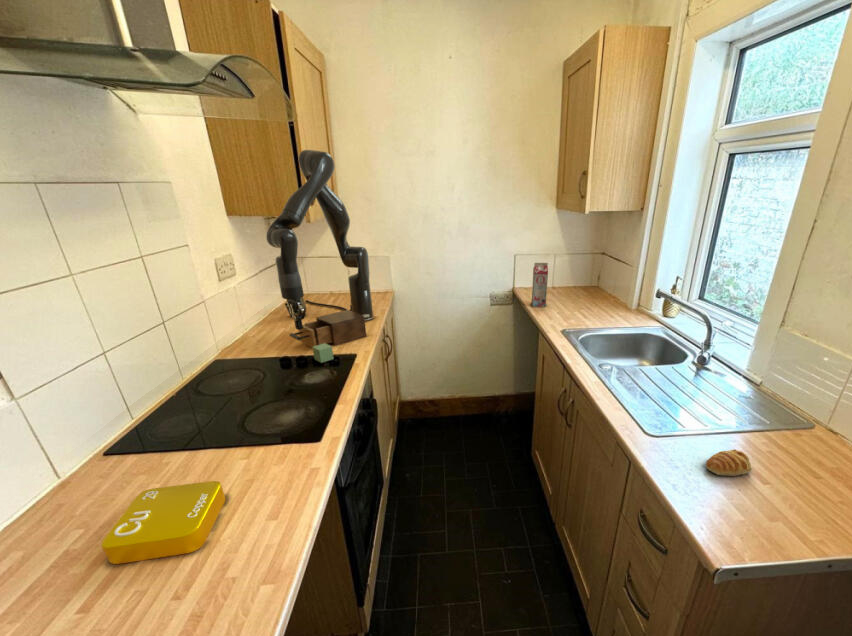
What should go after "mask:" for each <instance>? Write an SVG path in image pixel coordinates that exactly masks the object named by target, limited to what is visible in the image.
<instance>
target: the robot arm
mask: <svg viewBox="0 0 852 636" xmlns="http://www.w3.org/2000/svg"><path fill="white" fill-rule="evenodd" d="M298 165H299V169H300V171H301V173H302V175H303V176H304V178H305V180H306V182H305V183H304V184H303V185H302V186H300V187H299V188H298V189H296V190H295V191H294V192H293V193H292V194H291V195H290V196H289V198H288V199H287V201H286V203H285V205H284V207H283V209H282V211H281V213H280V214H279V215H278V216H277V217H276V218H275V220H274V221H273V222H272V223H271V224H270V225H269V227H268V228H267V231H266V235H265V238H266V242H267V244H268V245H269V246H270V247H272V248H276V249H280V255H278V256H276V257H275V266H276V270H277V280H278V284H279V289H280V294H281V298H282V299H284V300H286V303H284V306H285V308H286V310H287V312H288V314H289V317H290V318H292V320H293V321H294V326H295V329H296V330H297V331H299V330H301V329H303V325H304V324H303V321H302V320H305V317H306V313H305V312H307V307H306V308H302V302H301V300H300V298H301V297H303V298H304V295H305V293H304V289H303V283H302V282H303V281H302V277H301V274H300V272H299V266H298V260H297V259H298V247H299V242H298V237H297V235H296V232H295V231H294V230H293V229H297V228H299V227H300V226H301V225H302V223H303V221H304V219H305V217H306V215H307V213H308V211H309V209H310V207H311V205H312V204H313V202H314V201H315V200H316V202H317V204H318V206H319V207H320V210H321V213H322V215H323V217H324V219H325V222H326V224H327V225H328V227H329V230H330V232H331V234H332V237H333V239H334V243H335V245H336V249H337V251H338V254H339V257H340V260H341V262H342V264H343V265H344V266H345V267H346V268H350V269H351V268H352V269H357V272H356V273H355V274H352V275H350V276H348V277H347V278H348V279H347V280H348V287H349V296H350V299H349V301H350V305H349V310H350V311H352V312H355V313H358V314H360V315H363V316H364V320H365V322H367V321H372V320H373V319H374V312H373V301H372V293H371V285H370V262H369V261H370V259H369V253H368V251H367V249H366V247H363V246H351V245H350V244H349V242H348V239H347V236H348V232H349V229H350V224H351V219H350V215H349V213H348V210H347V208H346V206H345V204H344V201H342V200H341V198H340V197H339V196H338V195H337V194H336V193H335V192H334V191H333V190H332V189H331V188H330V186H329V185H328V183H329V180H330V179H331V178H332V176H333V174H334V171H335V161H334V158H333V157H332V155H331V154H330V153H329V152H327V151H322V150H315V149H304V150H301V151H300V153H299V155H298ZM305 303H308V304H311V305H315V306H323V307H329V308H336V309H340V310H342V311H345V310H348V309H347V308H345V307H342V306H338V305H333V304H326V303H320V302H315V301H310V300H307V299H305Z"/></svg>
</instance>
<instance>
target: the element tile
mask: <svg viewBox="0 0 852 636" xmlns="http://www.w3.org/2000/svg"><path fill="white" fill-rule="evenodd" d="M225 502H226V496H225V493H224V490H223V486H222V483H221V482H220V481H217V480H210V481H209V480H208V481H203V482H195V483H185V484H178V485H177V484H176V485H171V486H170V485H169V486H163V487H154V488H149V489H144V490H143V491H141V492H140V493H139V494H138V495H136V497H135V498H134V499H133V501H131V503H130V504H129V505H128V507H127V508H126V509H125V511H124V512H123V513H122V515H121V516H120V517H119V518H118V520H117V521H116V522H115V524H114V525H113V526H112V527H111V529H110V530H109V531H108V532H107V534H106V535H105V536H104V538H103V539H102V541H101V543H100V545H101V548H102V551H103V552H104V555H105V556H106V558H107V560H108V561H109V563H110V564H112V565H113V564H114V565H119V564H126V563H133V562H134V563H135V562H140V561H146V560H152V559H159V558H166V557H172V556H180V555H185V554H190V553H193V552H196V551H197V550H199V549H201V547H202V546H204V544H205V543H206V541H207V540H208V537H209V535H210V533H211V531H212V529H213V527H214V525H215V523H216V521H217V518H218V516H219V514H220V512H221V511H222V508H223V506H224V504H225Z"/></svg>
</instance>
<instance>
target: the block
mask: <svg viewBox="0 0 852 636" xmlns="http://www.w3.org/2000/svg"><path fill="white" fill-rule="evenodd" d="M316 345H317V344H316ZM312 352H313V357H314V358H313V359H314V360H315V361H317V362H319V363H321V364H322V363H325V362H328V361H332V360H334V359H335V358H334V353H333V346H331V345H330V344H329V343H327V344H326V343H324V344H320V345H317V346H313V348H312Z"/></svg>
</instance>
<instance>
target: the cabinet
mask: <svg viewBox="0 0 852 636" xmlns="http://www.w3.org/2000/svg"><path fill="white" fill-rule="evenodd" d="M318 320H320V321H322V322H324V323H327V324H329V325H331V329H332V336H333V342H331V343H330V344H331V345H333V346H338V345H342V344H345V343H348V342H351V341H356V340H359V339H362V338H365V337H367V328H366V321H365V320H364V316H363V315H360V314H358V313H355V312H352V311H350V309H347V310H342V311H336V312H333V313H329V314H328V313H327V314H324V315H321V316H316V317H315V321H318Z"/></svg>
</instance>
